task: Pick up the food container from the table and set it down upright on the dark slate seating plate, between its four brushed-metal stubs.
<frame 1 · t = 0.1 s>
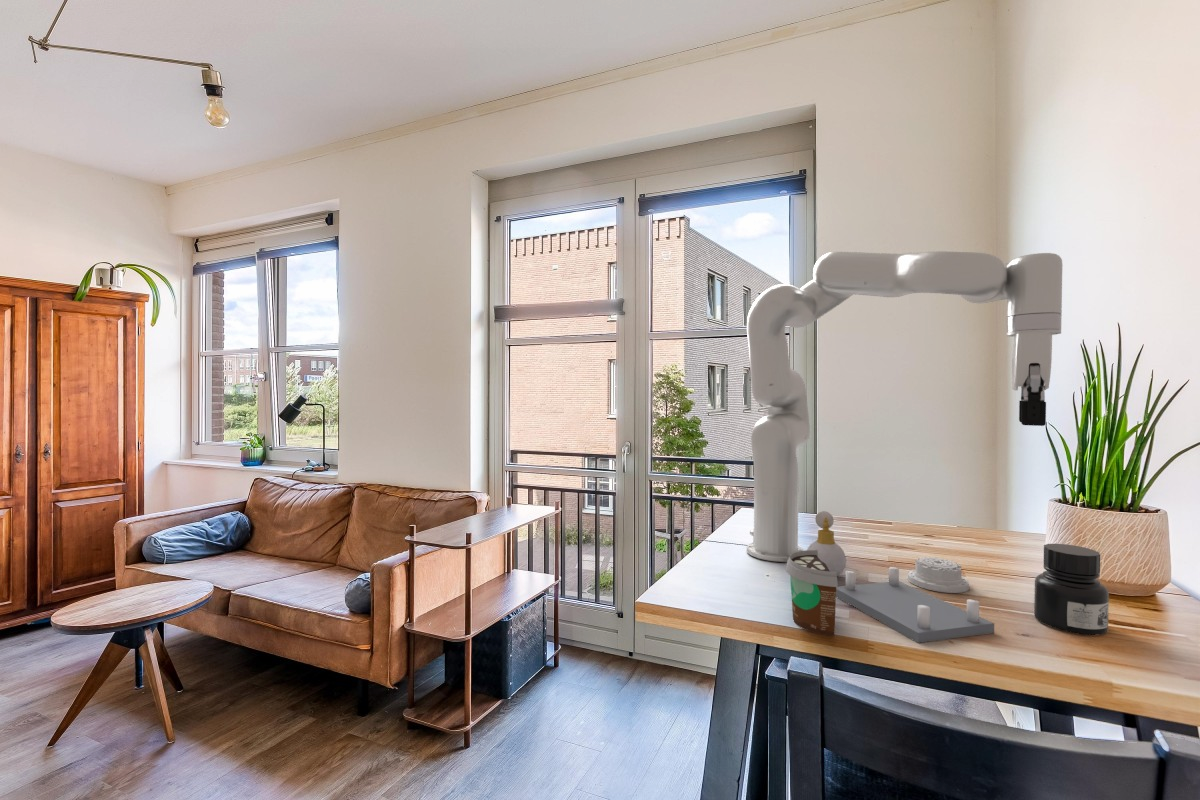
hand: (1031, 423, 96), 31 cm above the table, tool pointing down, fingers open, 9 cm apart
seating plate: (907, 612, 91), on the table
ink bottle: (1069, 626, 86), on the table
perfume bottle: (822, 574, 110), on the table
white cake: (937, 586, 105), on the table
food container: (805, 622, 88), on the table
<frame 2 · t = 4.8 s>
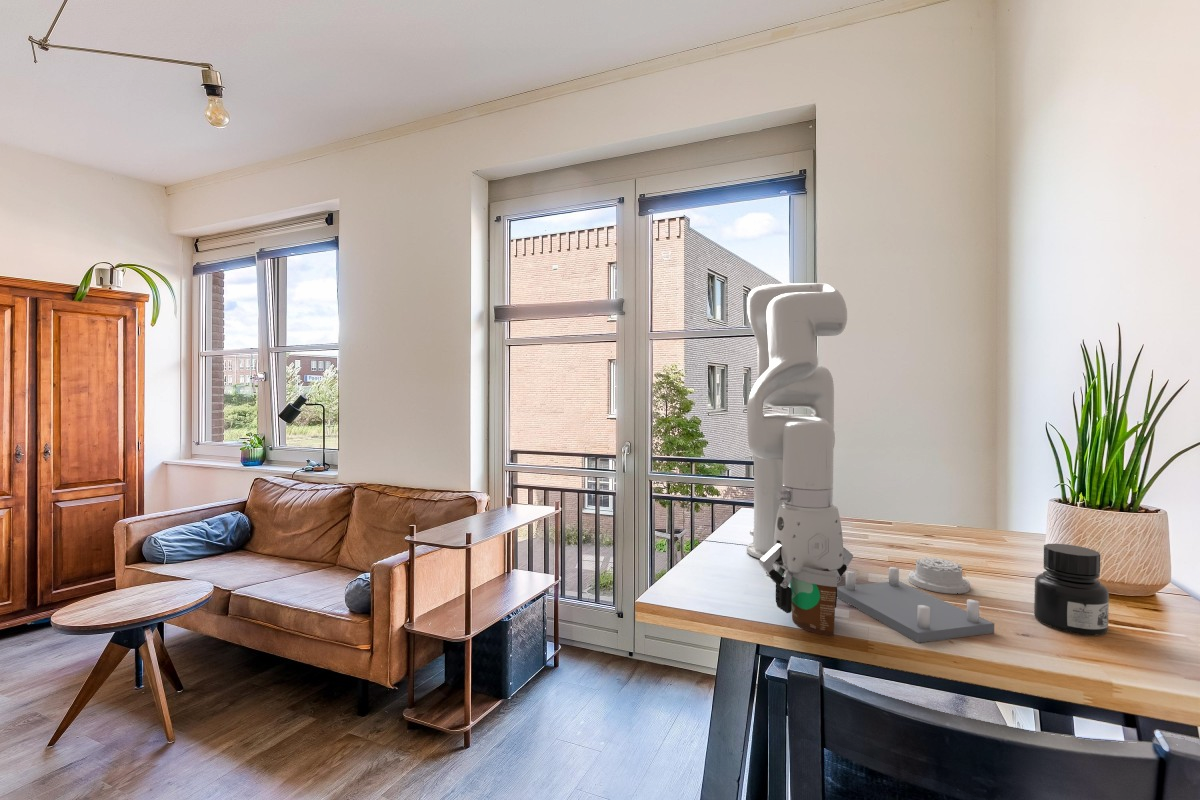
hand: (806, 606, 87), 2 cm above the table, tool pointing down, fingers open, 7 cm apart
food container: (805, 622, 87), on the table, touching gripper
everything else where it was.
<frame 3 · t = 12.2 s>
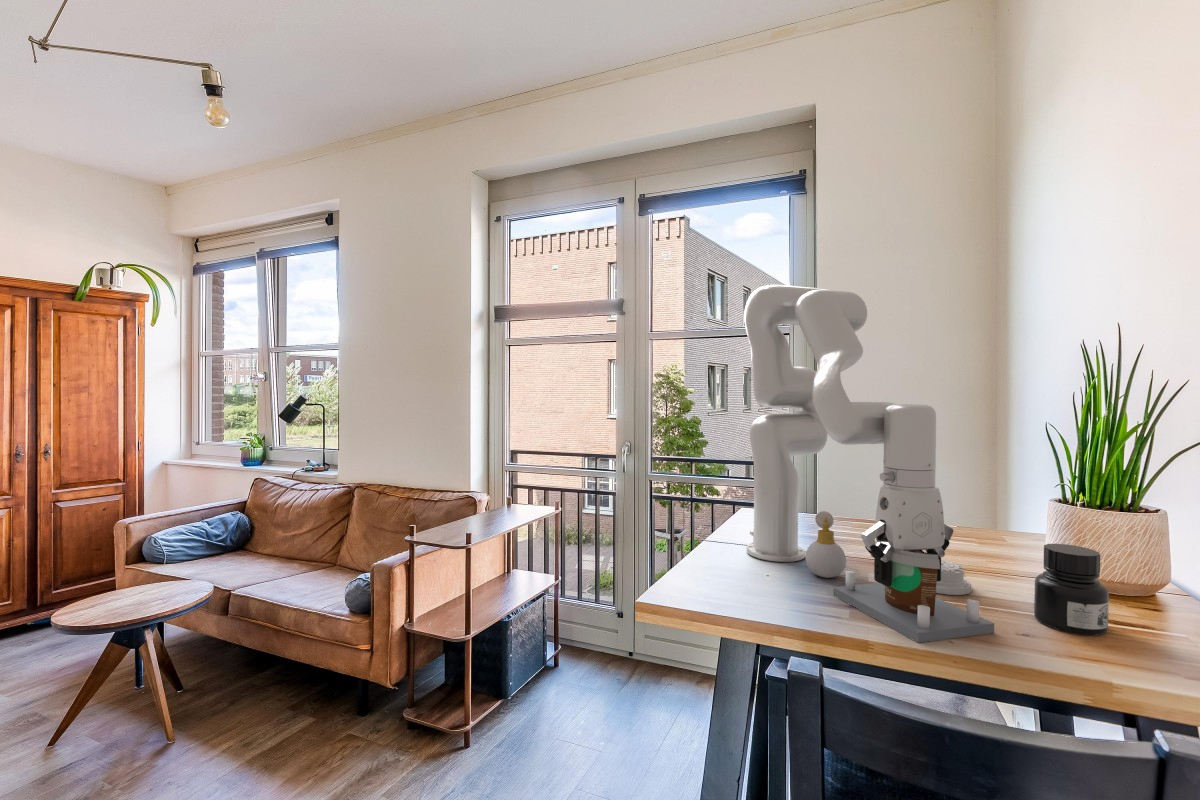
hand: (907, 581, 91), 5 cm above the table, tool pointing down, fingers open, 9 cm apart
food container: (899, 605, 91), point 1 cm above the table, touching seating plate
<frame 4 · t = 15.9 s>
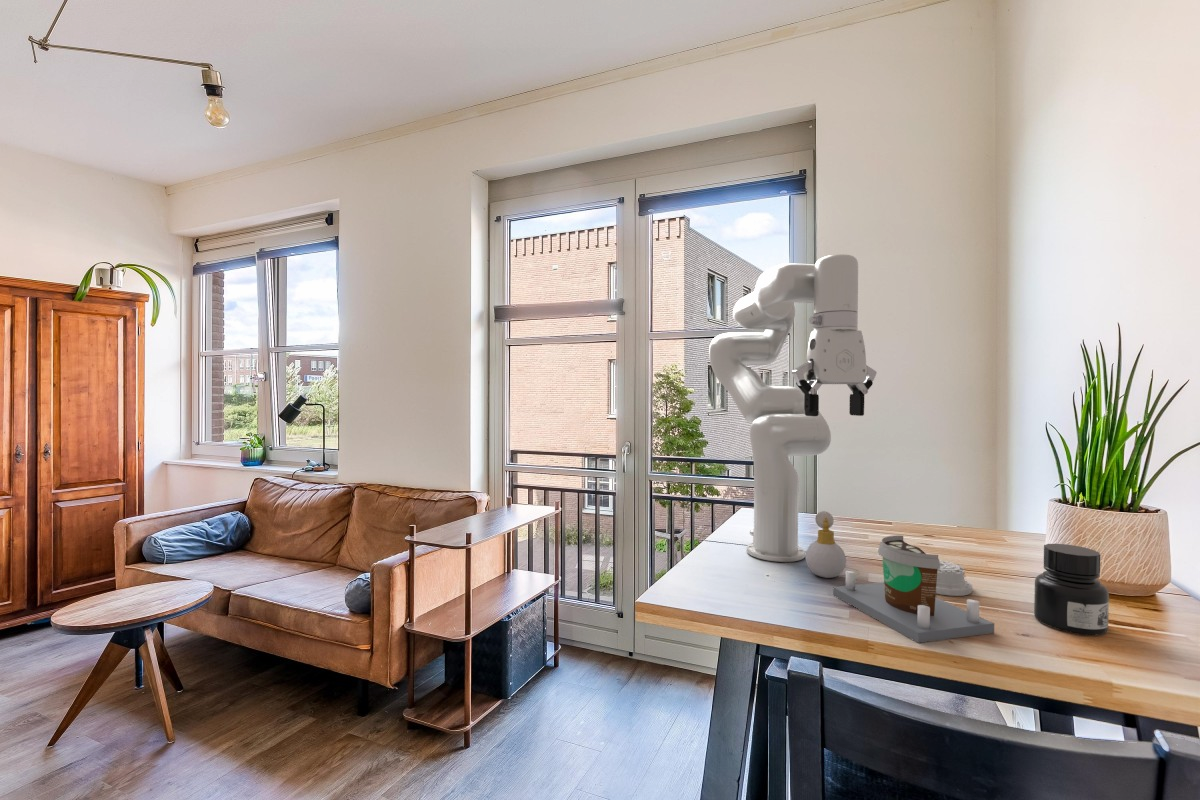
hand: (834, 415, 102), 32 cm above the table, tool pointing down, fingers open, 9 cm apart
at the end: food container 1.3 cm off-centre on the seating plate, point 1.3 cm above the seating plate's base; food container tilted 0°; the gripper is holding nothing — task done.
